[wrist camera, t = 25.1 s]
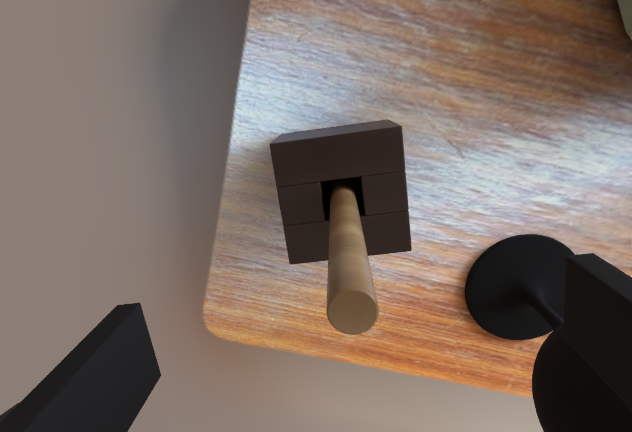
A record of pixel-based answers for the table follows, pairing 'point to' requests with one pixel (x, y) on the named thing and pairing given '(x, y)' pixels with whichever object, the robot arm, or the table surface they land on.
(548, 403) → the wine glass
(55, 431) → the robot arm
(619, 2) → the bowl
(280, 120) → the table surface
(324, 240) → the stand
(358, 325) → the stick
